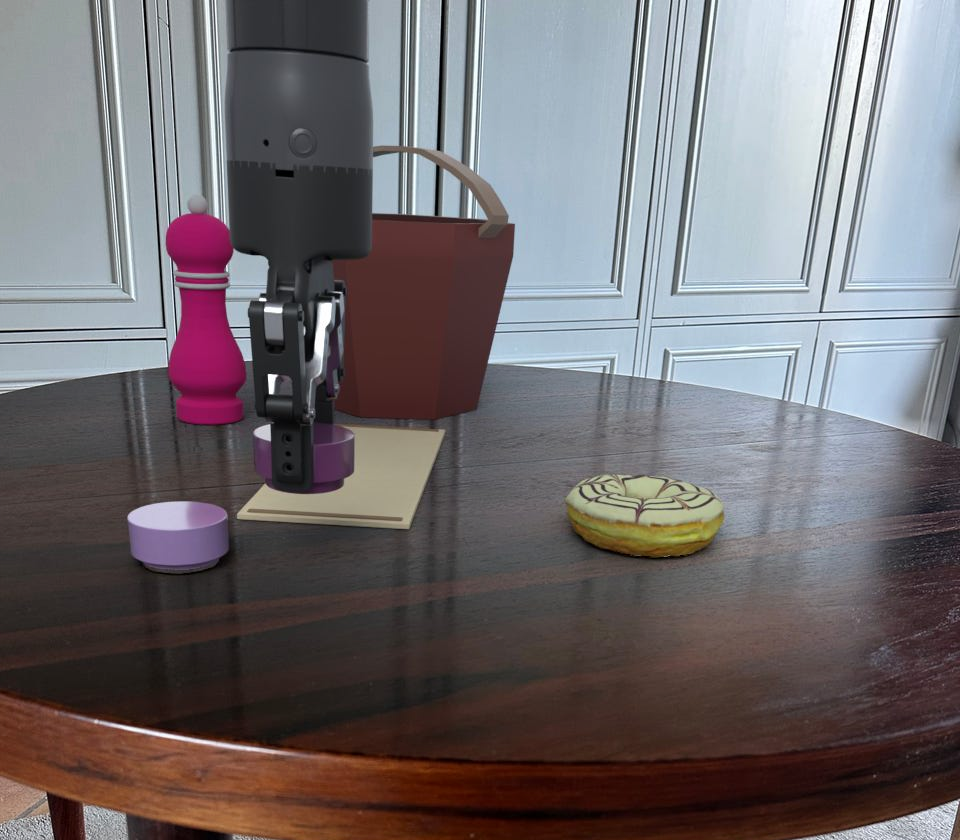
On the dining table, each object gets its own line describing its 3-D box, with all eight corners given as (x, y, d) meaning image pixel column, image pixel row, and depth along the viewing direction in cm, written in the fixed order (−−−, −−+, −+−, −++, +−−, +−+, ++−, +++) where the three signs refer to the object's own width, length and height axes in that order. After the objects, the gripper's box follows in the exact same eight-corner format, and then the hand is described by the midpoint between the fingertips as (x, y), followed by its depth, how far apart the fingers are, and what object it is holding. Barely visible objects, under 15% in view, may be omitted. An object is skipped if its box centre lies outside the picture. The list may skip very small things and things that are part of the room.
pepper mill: (260, 422, 99) (250, 197, 91) (187, 429, 95) (170, 194, 87) (231, 408, 104) (220, 194, 96) (161, 413, 100) (143, 191, 92)
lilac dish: (117, 575, 60) (111, 526, 59) (151, 544, 65) (146, 498, 64) (214, 581, 60) (211, 532, 59) (240, 549, 65) (238, 504, 64)
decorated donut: (649, 509, 78) (654, 460, 76) (750, 551, 69) (759, 497, 68) (535, 525, 73) (539, 473, 71) (630, 573, 64) (637, 515, 63)
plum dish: (243, 493, 58) (241, 440, 57) (268, 467, 63) (266, 418, 62) (345, 500, 58) (345, 448, 56) (361, 473, 63) (362, 425, 62)
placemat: (237, 519, 71) (236, 512, 71) (320, 426, 98) (320, 421, 98) (409, 529, 71) (409, 522, 70) (445, 433, 98) (445, 428, 98)
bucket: (252, 392, 112) (240, 138, 102) (409, 376, 126) (413, 151, 116) (388, 436, 96) (391, 140, 86) (552, 412, 110) (572, 154, 100)
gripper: (262, 157, 60) (270, 441, 67) (185, 149, 47) (205, 505, 54) (390, 164, 60) (385, 449, 67) (348, 159, 47) (347, 515, 53)
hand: (304, 473), depth 60 cm, fingers closed on plum dish, 5 cm apart
